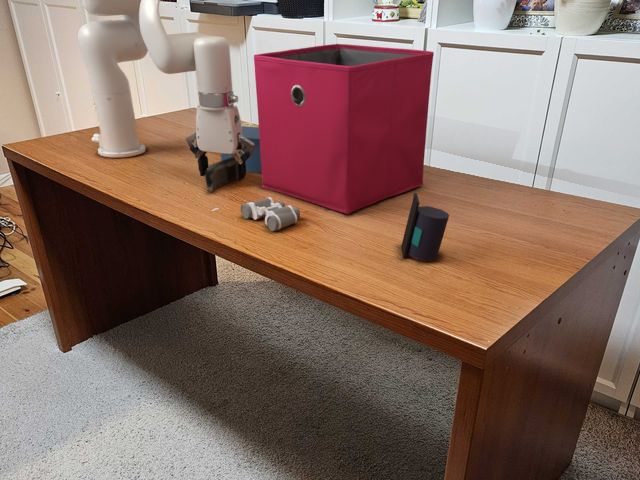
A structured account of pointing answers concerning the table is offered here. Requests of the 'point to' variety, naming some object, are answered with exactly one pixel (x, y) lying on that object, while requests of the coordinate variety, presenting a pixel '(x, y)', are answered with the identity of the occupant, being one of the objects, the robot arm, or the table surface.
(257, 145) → the blue box
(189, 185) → the table surface
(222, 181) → the mobile phone
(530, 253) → the table surface
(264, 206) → the binoculars
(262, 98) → the storage bin
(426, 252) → the speaker
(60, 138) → the table surface
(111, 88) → the robot arm
